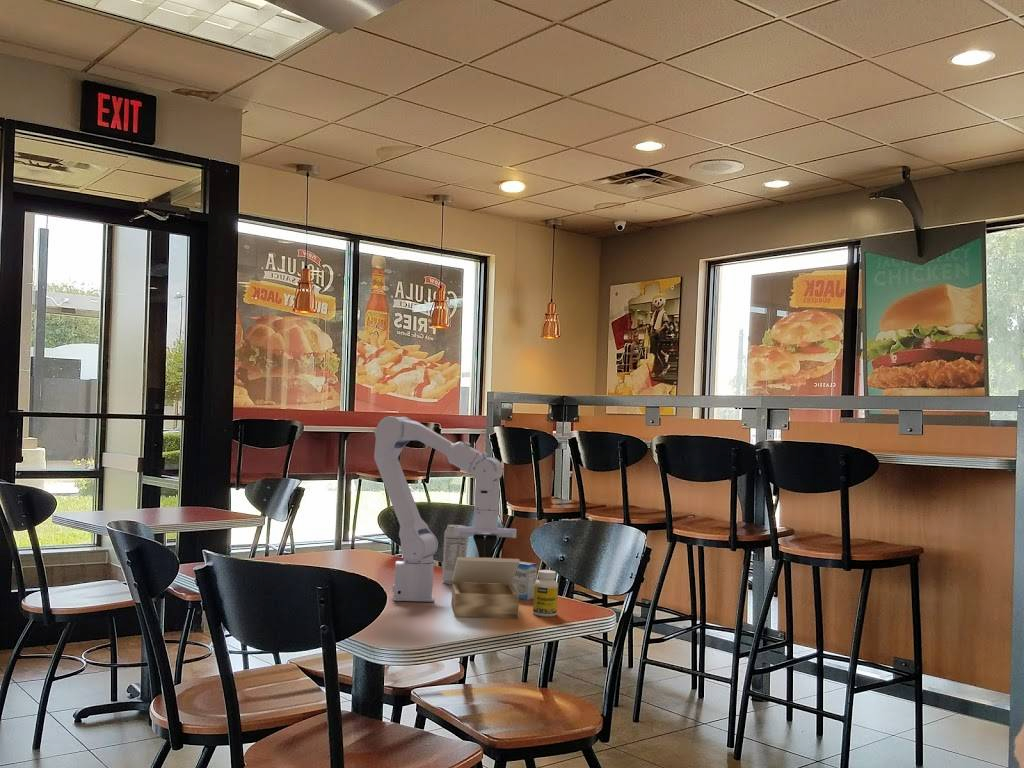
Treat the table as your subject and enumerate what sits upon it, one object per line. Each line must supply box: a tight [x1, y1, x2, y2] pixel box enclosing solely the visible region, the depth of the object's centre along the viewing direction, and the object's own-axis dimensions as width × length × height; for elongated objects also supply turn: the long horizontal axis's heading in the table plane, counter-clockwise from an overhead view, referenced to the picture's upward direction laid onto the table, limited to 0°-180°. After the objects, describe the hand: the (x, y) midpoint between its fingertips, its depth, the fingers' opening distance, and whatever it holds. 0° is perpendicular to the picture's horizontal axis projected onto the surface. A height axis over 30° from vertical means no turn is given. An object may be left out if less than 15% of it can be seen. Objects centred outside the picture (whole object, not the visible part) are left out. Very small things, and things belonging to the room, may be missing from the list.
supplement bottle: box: [532, 569, 559, 617], centre depth 214 cm, size 5×5×10 cm
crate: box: [450, 582, 520, 619], centre depth 215 cm, size 14×14×5 cm
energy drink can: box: [441, 524, 468, 585], centre depth 249 cm, size 6×6×15 cm
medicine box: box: [512, 561, 538, 601], centre depth 234 cm, size 8×4×9 cm, turn 62°
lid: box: [453, 556, 521, 584], centre depth 216 cm, size 14×14×1 cm
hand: (483, 567), depth 221 cm, fingers closed
